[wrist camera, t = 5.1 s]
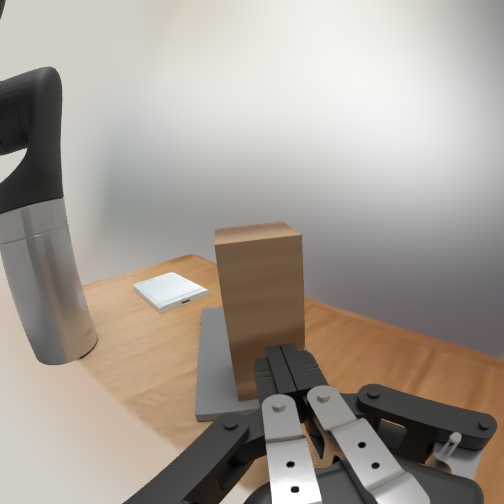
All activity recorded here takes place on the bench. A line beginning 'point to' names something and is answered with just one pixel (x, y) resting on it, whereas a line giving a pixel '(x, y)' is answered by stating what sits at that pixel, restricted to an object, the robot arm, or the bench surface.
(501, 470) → the bench surface
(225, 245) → the light brown wooden block
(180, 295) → the hard drive
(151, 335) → the bench surface
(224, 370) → the rubber mat
